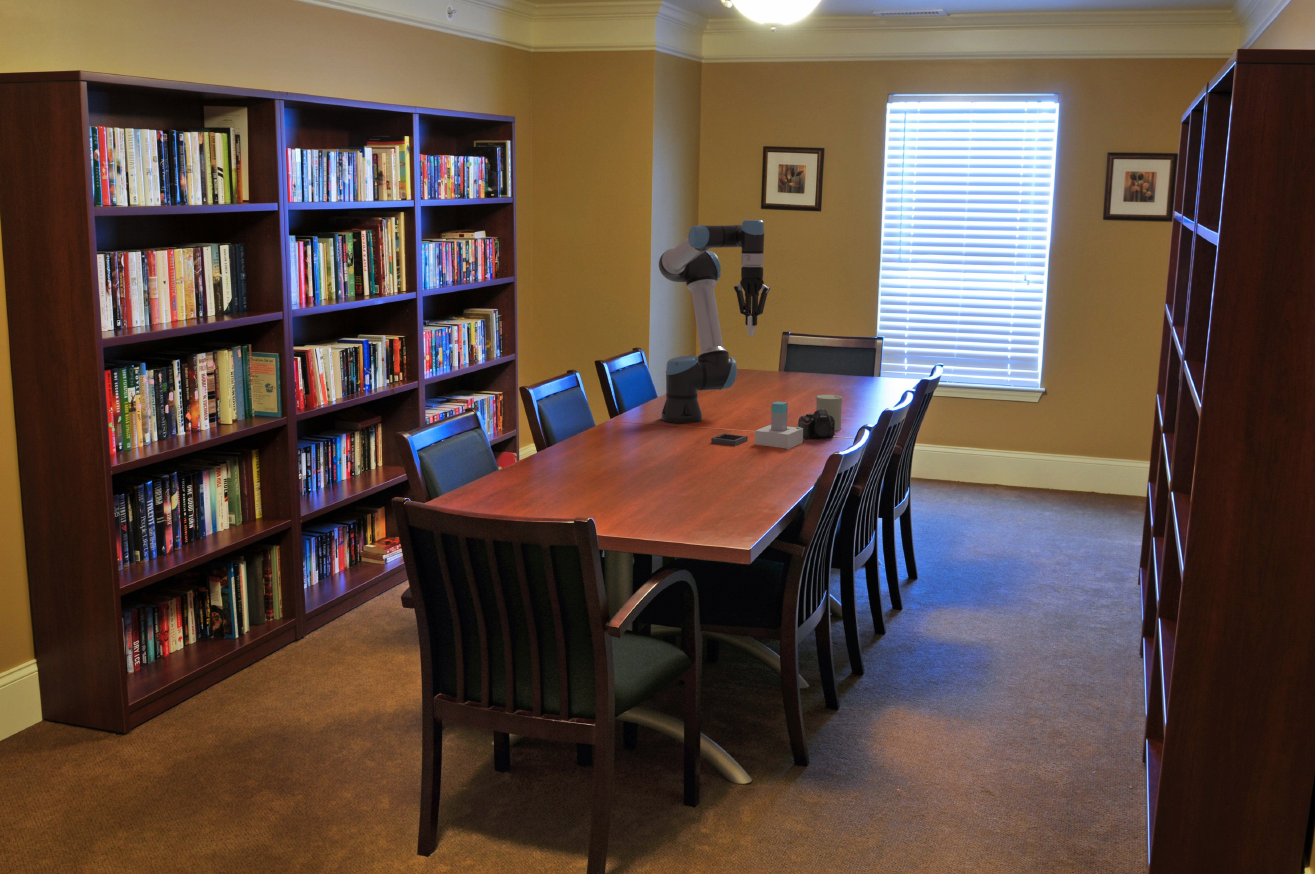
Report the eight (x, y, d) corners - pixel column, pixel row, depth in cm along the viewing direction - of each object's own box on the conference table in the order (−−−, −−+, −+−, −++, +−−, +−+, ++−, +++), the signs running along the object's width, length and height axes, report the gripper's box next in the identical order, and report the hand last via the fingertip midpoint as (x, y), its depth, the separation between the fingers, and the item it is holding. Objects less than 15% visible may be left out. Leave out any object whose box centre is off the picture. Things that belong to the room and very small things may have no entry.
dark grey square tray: (711, 443, 370) (711, 438, 369) (723, 439, 377) (723, 433, 377) (735, 447, 365) (735, 441, 365) (747, 442, 373) (747, 436, 372)
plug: (770, 441, 368) (771, 403, 366) (775, 439, 372) (776, 401, 369) (781, 442, 366) (782, 404, 364) (786, 440, 370) (787, 402, 367)
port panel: (754, 445, 367) (755, 429, 366) (770, 438, 377) (770, 423, 376) (787, 449, 361) (788, 433, 360) (802, 442, 371) (803, 427, 370)
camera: (809, 442, 373) (810, 413, 371) (793, 436, 382) (794, 408, 380) (842, 438, 378) (843, 410, 376) (826, 433, 387) (827, 405, 385)
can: (840, 431, 390) (841, 398, 387) (814, 430, 391) (815, 397, 389) (841, 426, 399) (842, 393, 396) (816, 425, 400) (817, 392, 398)
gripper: (730, 265, 376) (729, 334, 381) (764, 267, 369) (763, 337, 374) (740, 264, 382) (739, 332, 387) (774, 266, 376) (772, 335, 381)
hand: (751, 334), depth 381 cm, fingers closed
